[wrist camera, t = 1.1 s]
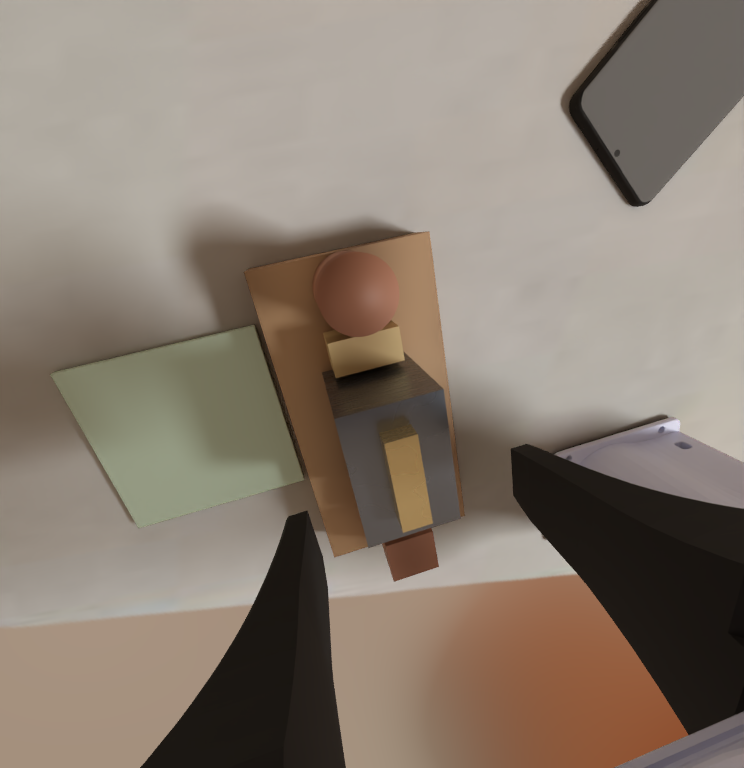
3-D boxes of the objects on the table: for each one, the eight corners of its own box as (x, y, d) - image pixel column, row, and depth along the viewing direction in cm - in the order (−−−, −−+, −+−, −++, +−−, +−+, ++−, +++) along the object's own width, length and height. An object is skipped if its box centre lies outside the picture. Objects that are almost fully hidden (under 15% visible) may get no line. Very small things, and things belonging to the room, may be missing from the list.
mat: (254, 324, 18) (254, 326, 18) (303, 476, 21) (304, 480, 21) (55, 371, 17) (50, 374, 16) (141, 523, 20) (138, 528, 20)
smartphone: (877, -53, 17) (644, 211, 19) (850, -40, 18) (629, 212, 20) (837, -226, 15) (572, 100, 17) (808, -201, 16) (559, 107, 18)
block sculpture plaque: (415, 232, 18) (458, 229, 13) (451, 494, 24) (489, 553, 20) (248, 269, 17) (234, 278, 12) (330, 532, 23) (341, 603, 19)
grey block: (403, 351, 18) (452, 397, 13) (421, 455, 20) (469, 531, 15) (321, 372, 17) (336, 429, 12) (349, 476, 20) (372, 563, 14)
